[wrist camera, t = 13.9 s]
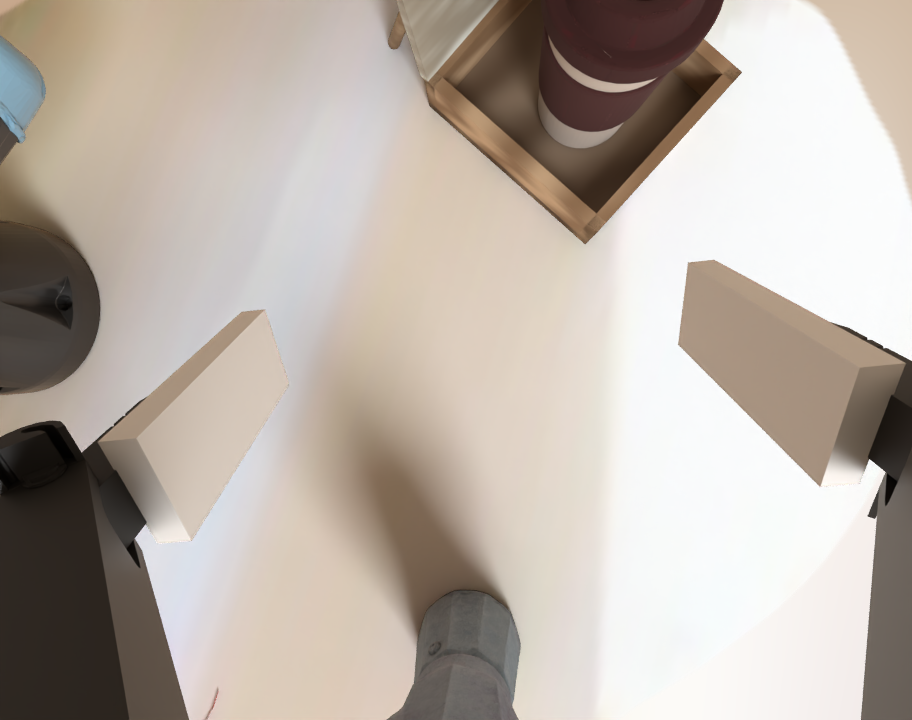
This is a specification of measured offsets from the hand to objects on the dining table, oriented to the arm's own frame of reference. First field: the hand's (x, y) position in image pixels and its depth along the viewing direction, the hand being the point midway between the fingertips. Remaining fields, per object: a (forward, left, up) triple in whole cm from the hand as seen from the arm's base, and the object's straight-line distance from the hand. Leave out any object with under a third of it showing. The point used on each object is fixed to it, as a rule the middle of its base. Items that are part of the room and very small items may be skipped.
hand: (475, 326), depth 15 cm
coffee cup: (-7, +20, -25) cm, 33 cm away
